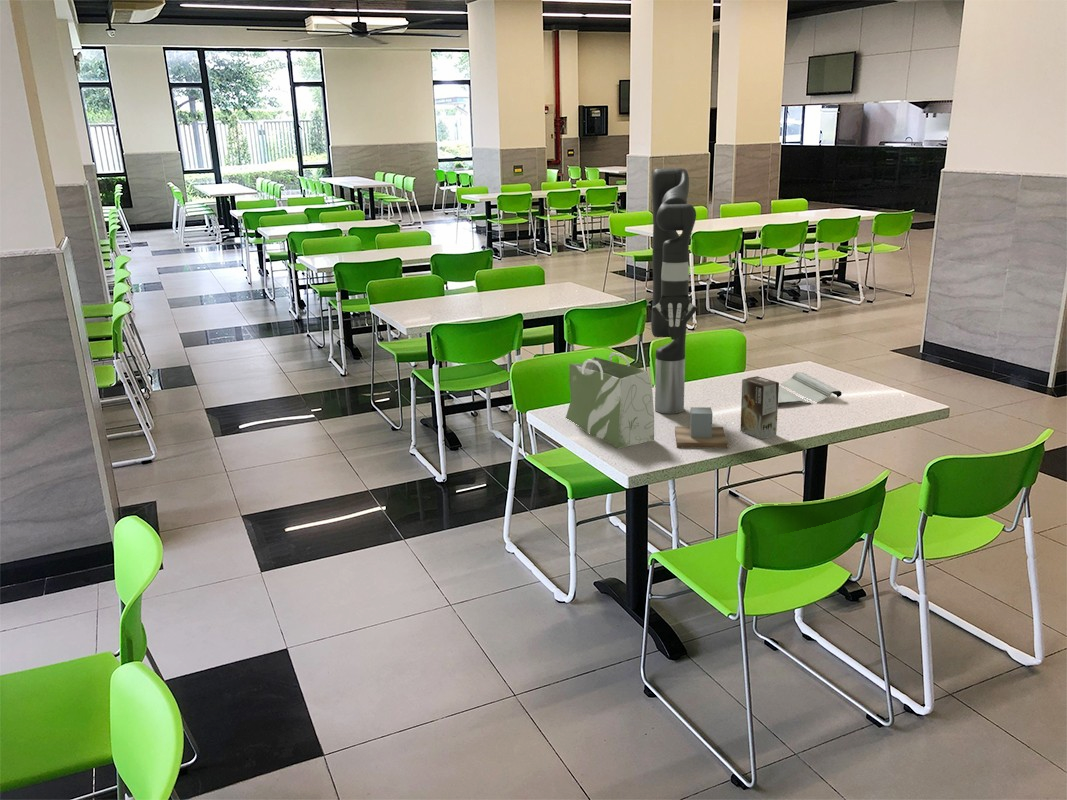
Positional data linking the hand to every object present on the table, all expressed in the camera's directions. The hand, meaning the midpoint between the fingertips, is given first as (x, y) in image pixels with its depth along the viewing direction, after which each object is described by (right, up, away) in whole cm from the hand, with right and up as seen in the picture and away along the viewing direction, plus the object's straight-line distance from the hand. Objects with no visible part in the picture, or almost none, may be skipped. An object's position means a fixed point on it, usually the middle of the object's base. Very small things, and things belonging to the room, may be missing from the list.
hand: (673, 339), depth 232 cm
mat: (+47, -16, +44) cm, 66 cm away
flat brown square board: (+8, -29, +5) cm, 30 cm away
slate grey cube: (+8, -27, +4) cm, 29 cm away
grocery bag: (-17, -26, +16) cm, 35 cm away
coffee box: (+26, -27, +8) cm, 39 cm away
